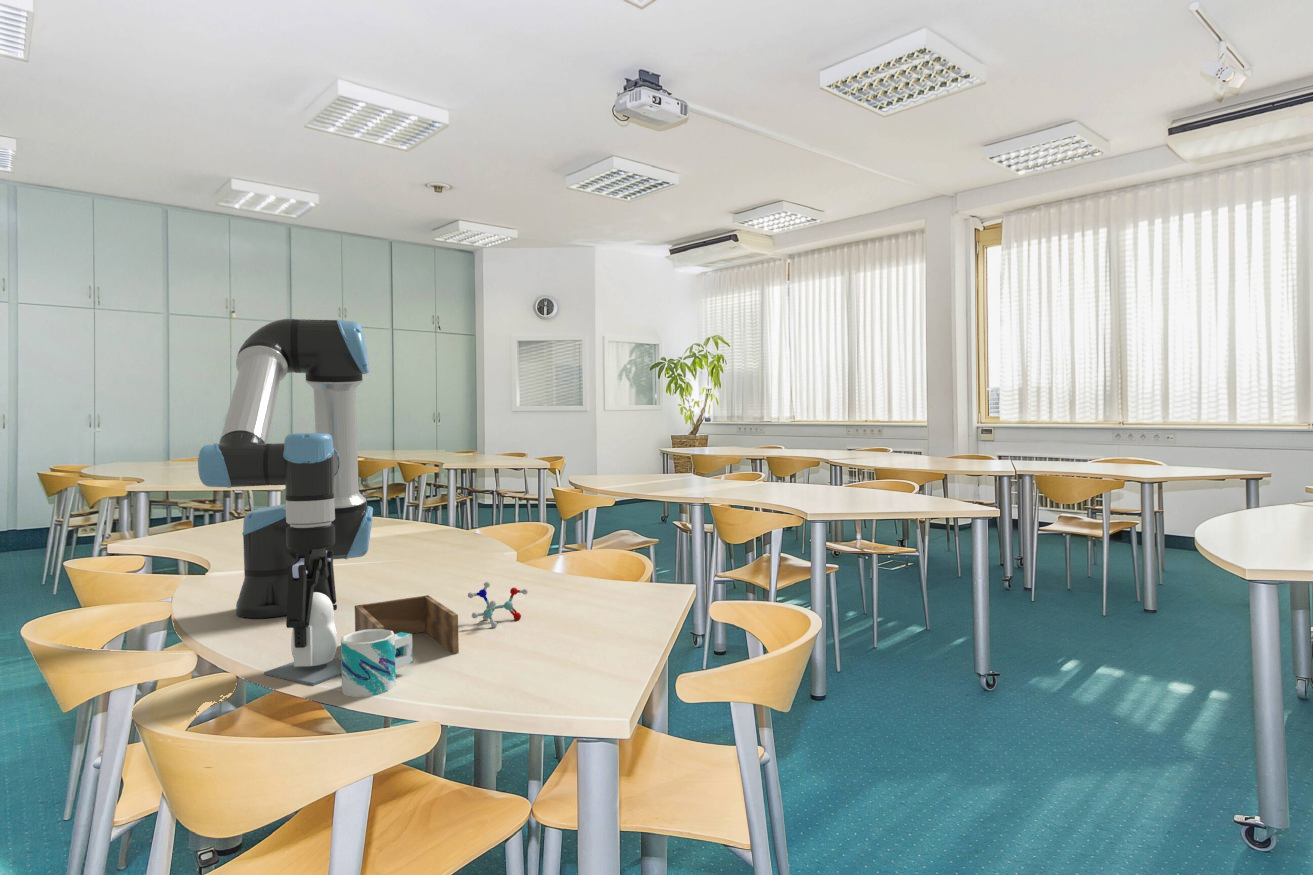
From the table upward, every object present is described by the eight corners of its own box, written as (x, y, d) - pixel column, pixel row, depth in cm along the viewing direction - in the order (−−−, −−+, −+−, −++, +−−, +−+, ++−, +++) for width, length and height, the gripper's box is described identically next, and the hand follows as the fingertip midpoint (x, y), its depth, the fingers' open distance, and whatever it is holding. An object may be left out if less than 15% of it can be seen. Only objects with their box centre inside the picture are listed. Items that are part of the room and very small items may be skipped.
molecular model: (509, 614, 148) (494, 569, 152) (471, 635, 150) (456, 590, 154) (538, 616, 158) (522, 574, 162) (502, 636, 160) (487, 594, 164)
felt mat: (263, 674, 125) (263, 672, 125) (314, 656, 134) (314, 654, 134) (313, 685, 120) (313, 682, 120) (362, 666, 129) (362, 663, 129)
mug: (330, 691, 117) (329, 638, 117) (389, 667, 128) (388, 619, 128) (367, 700, 113) (366, 645, 113) (425, 675, 124) (424, 625, 124)
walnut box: (355, 641, 143) (354, 605, 142) (428, 629, 150) (427, 595, 150) (378, 668, 128) (378, 627, 127) (458, 652, 135) (458, 614, 135)
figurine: (292, 671, 122) (290, 599, 122) (290, 658, 129) (289, 589, 128) (339, 664, 125) (337, 593, 125) (335, 651, 132) (333, 584, 132)
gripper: (312, 515, 136) (315, 638, 137) (259, 534, 115) (262, 679, 116) (354, 515, 137) (356, 637, 137) (308, 533, 116) (312, 677, 117)
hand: (313, 656), depth 127 cm, fingers closed on figurine, 8 cm apart
